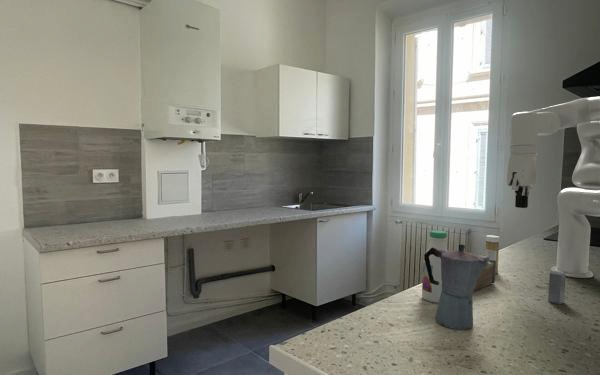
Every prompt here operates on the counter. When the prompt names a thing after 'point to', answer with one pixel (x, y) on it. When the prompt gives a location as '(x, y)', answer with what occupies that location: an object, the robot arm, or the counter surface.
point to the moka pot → (456, 286)
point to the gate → (486, 275)
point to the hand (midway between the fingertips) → (521, 207)
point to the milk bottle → (434, 268)
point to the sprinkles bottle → (492, 249)
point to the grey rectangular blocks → (552, 285)
